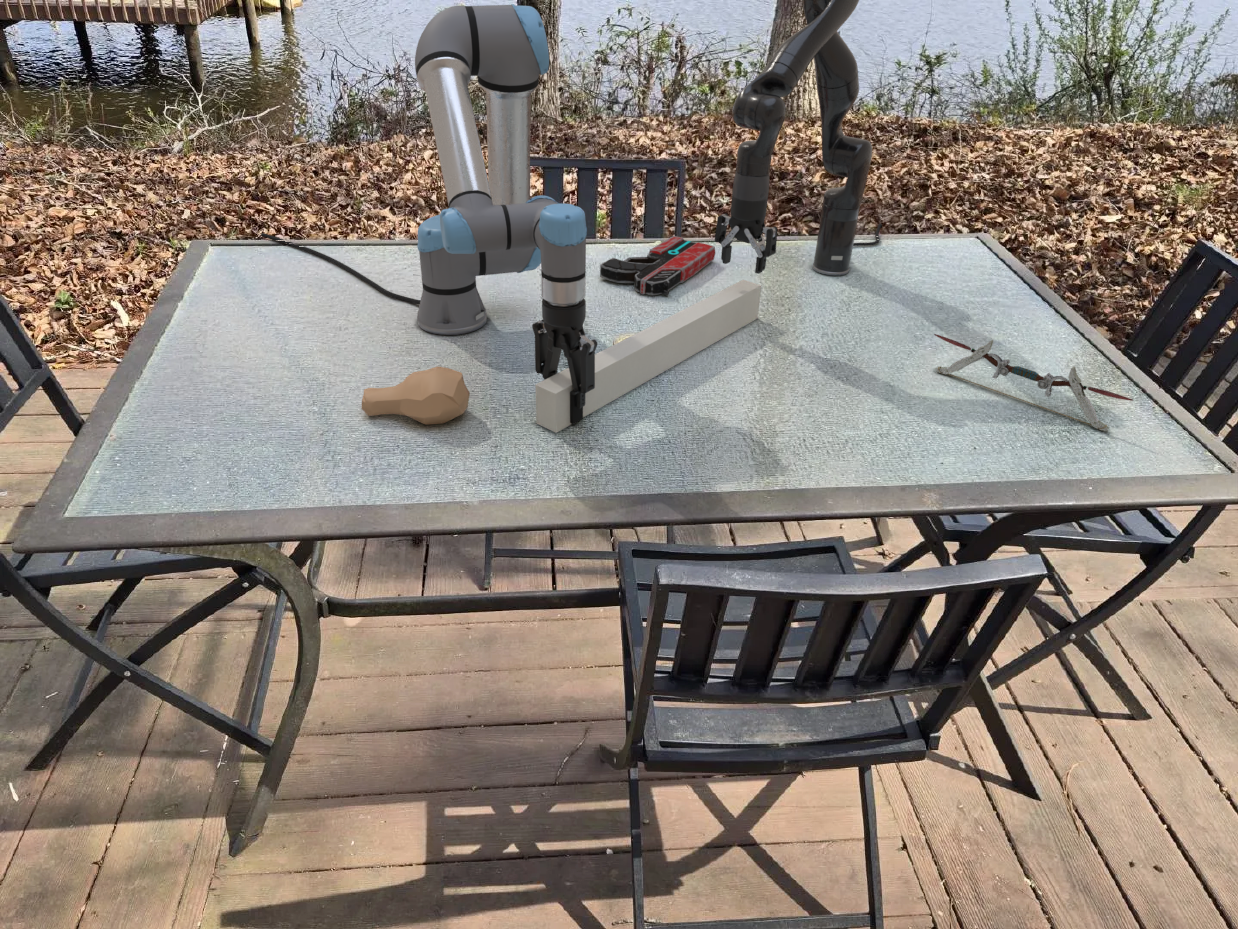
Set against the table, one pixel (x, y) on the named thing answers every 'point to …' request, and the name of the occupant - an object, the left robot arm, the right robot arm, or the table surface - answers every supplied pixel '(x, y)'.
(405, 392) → the squash
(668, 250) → the gun
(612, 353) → the beam
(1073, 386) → the bow
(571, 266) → the left robot arm
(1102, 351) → the table surface
